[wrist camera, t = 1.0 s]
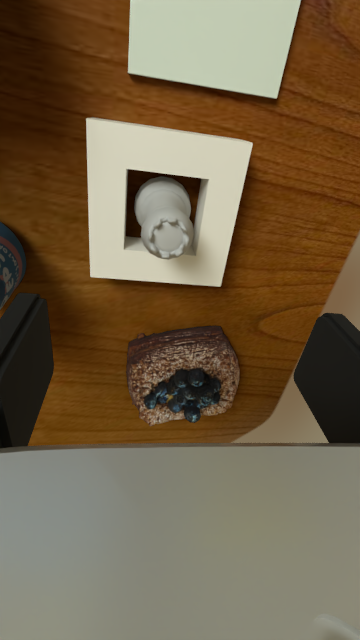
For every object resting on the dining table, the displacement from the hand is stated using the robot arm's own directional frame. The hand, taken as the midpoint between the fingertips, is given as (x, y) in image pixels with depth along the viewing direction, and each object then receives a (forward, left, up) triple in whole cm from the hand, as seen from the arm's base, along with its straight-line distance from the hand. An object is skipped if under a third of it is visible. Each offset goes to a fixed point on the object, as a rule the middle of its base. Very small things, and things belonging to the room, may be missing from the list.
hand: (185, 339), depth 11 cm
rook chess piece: (0, 0, -18) cm, 18 cm away
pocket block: (0, 0, -17) cm, 17 cm away
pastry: (+17, +4, -18) cm, 25 cm away
